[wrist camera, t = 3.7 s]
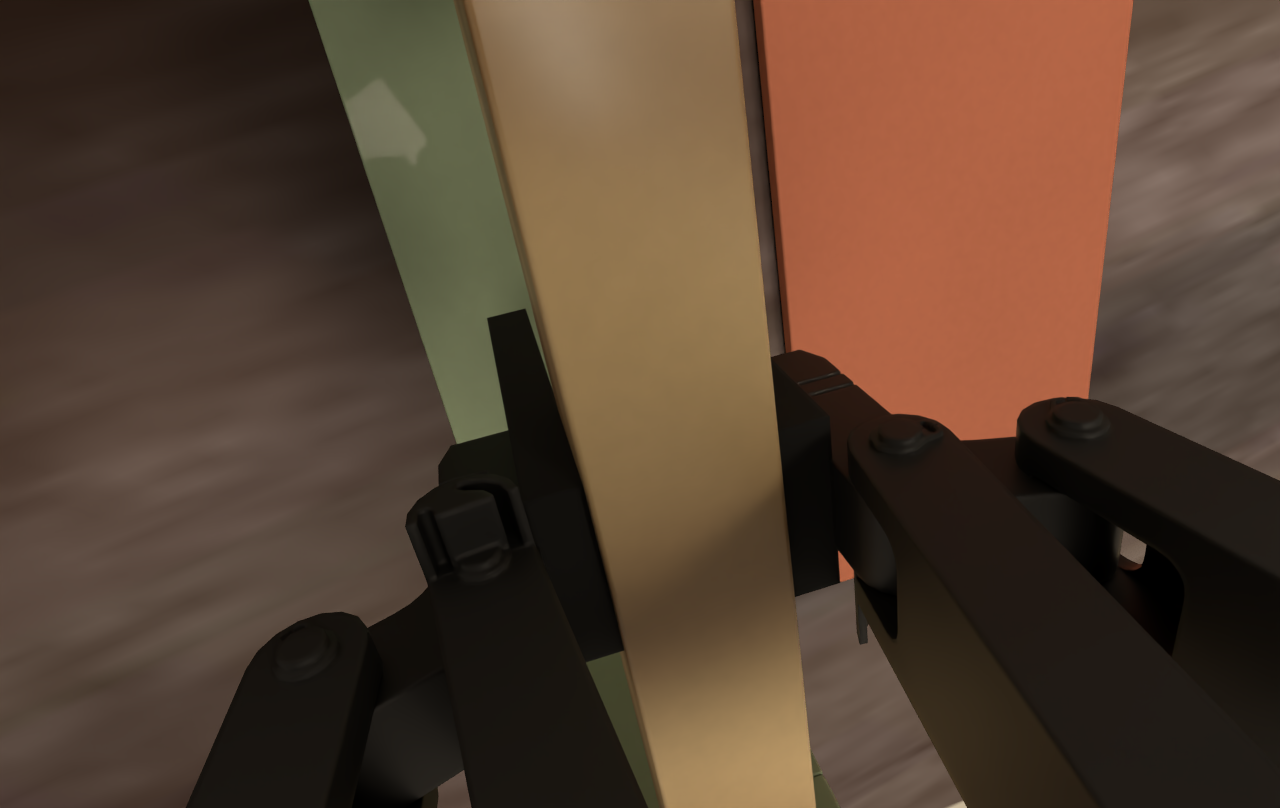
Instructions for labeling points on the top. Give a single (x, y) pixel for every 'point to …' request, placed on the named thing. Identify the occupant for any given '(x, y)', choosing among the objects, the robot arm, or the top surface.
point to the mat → (944, 195)
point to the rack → (450, 231)
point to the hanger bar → (659, 364)
